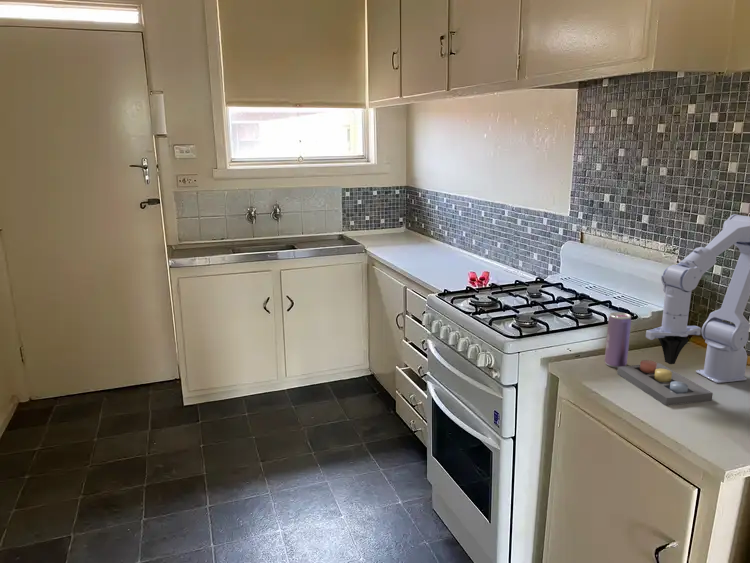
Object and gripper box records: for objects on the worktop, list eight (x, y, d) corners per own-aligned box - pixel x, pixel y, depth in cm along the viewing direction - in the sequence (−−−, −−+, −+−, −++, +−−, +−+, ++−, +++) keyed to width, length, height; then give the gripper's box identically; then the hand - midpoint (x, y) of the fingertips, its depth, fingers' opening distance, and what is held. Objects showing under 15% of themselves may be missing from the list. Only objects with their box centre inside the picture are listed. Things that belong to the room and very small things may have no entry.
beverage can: (628, 369, 162) (633, 318, 158) (606, 367, 163) (611, 317, 159) (624, 361, 167) (629, 312, 164) (602, 359, 169) (607, 311, 165)
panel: (658, 369, 161) (659, 362, 161) (711, 400, 142) (712, 393, 142) (616, 373, 159) (617, 366, 158) (665, 405, 140) (666, 398, 139)
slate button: (679, 388, 147) (680, 380, 146) (690, 395, 143) (691, 387, 142) (665, 390, 146) (666, 382, 146) (676, 396, 142) (677, 388, 142)
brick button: (649, 366, 158) (650, 359, 157) (659, 372, 154) (660, 365, 154) (636, 368, 157) (637, 360, 157) (646, 373, 153) (646, 366, 153)
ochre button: (664, 375, 152) (665, 367, 152) (674, 381, 148) (675, 373, 148) (650, 376, 152) (651, 369, 151) (661, 383, 148) (661, 375, 147)
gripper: (661, 319, 138) (655, 371, 142) (712, 314, 141) (705, 365, 145) (642, 311, 145) (637, 360, 148) (691, 306, 148) (685, 355, 151)
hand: (669, 362), depth 147 cm, fingers closed
